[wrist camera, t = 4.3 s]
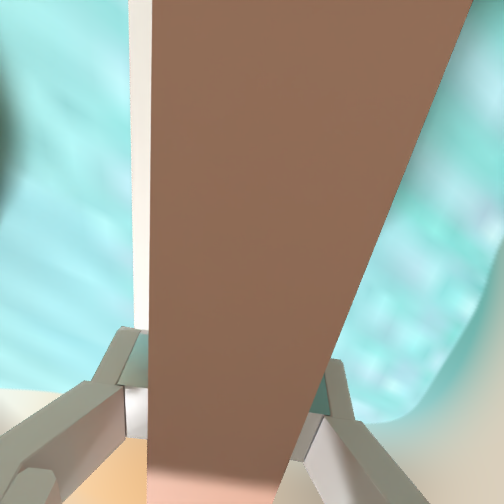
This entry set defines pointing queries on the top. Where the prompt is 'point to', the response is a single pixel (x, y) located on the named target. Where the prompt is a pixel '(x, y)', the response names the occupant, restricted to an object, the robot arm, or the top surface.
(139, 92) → the door stand
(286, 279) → the door
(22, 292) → the top surface
